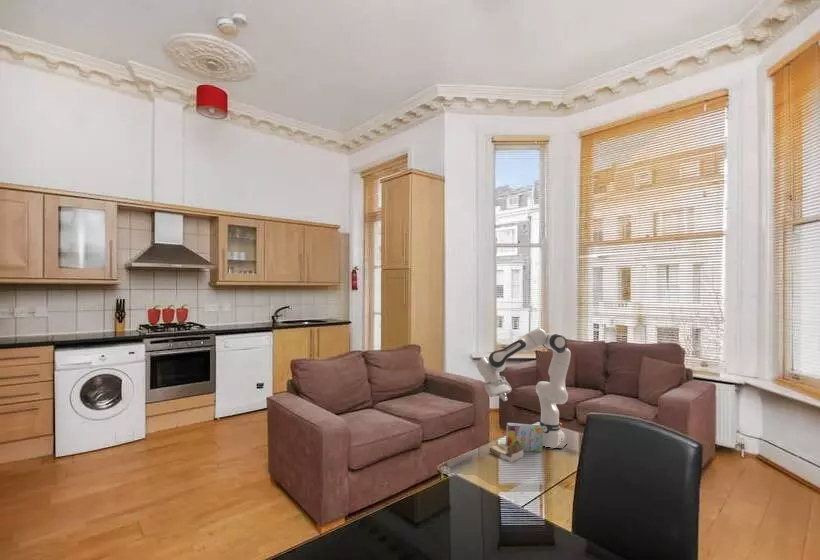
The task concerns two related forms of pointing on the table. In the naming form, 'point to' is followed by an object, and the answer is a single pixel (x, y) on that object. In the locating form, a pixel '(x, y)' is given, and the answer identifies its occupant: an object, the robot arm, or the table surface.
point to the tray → (512, 456)
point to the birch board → (499, 449)
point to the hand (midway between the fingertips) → (506, 400)
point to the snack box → (525, 436)
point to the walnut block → (514, 449)
